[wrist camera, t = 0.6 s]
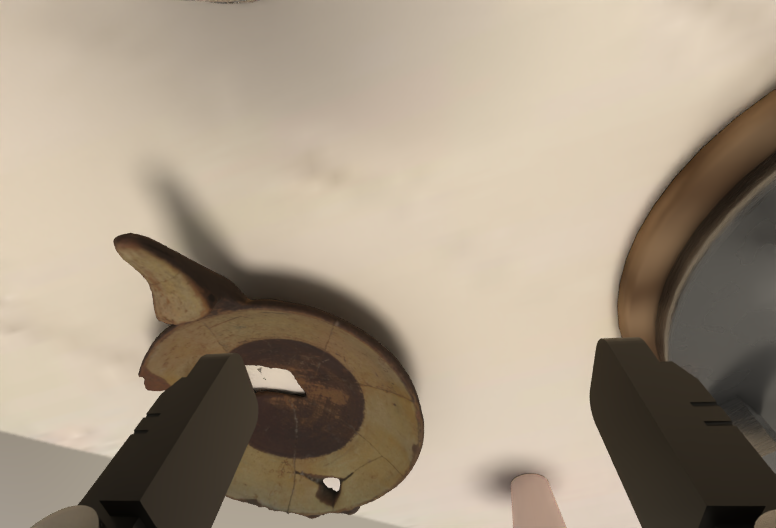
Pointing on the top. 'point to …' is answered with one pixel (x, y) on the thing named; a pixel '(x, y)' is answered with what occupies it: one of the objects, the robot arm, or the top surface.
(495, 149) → the top surface
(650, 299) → the brown round board
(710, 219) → the lathe chuck plate
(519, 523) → the smoothie
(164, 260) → the oil lamp
